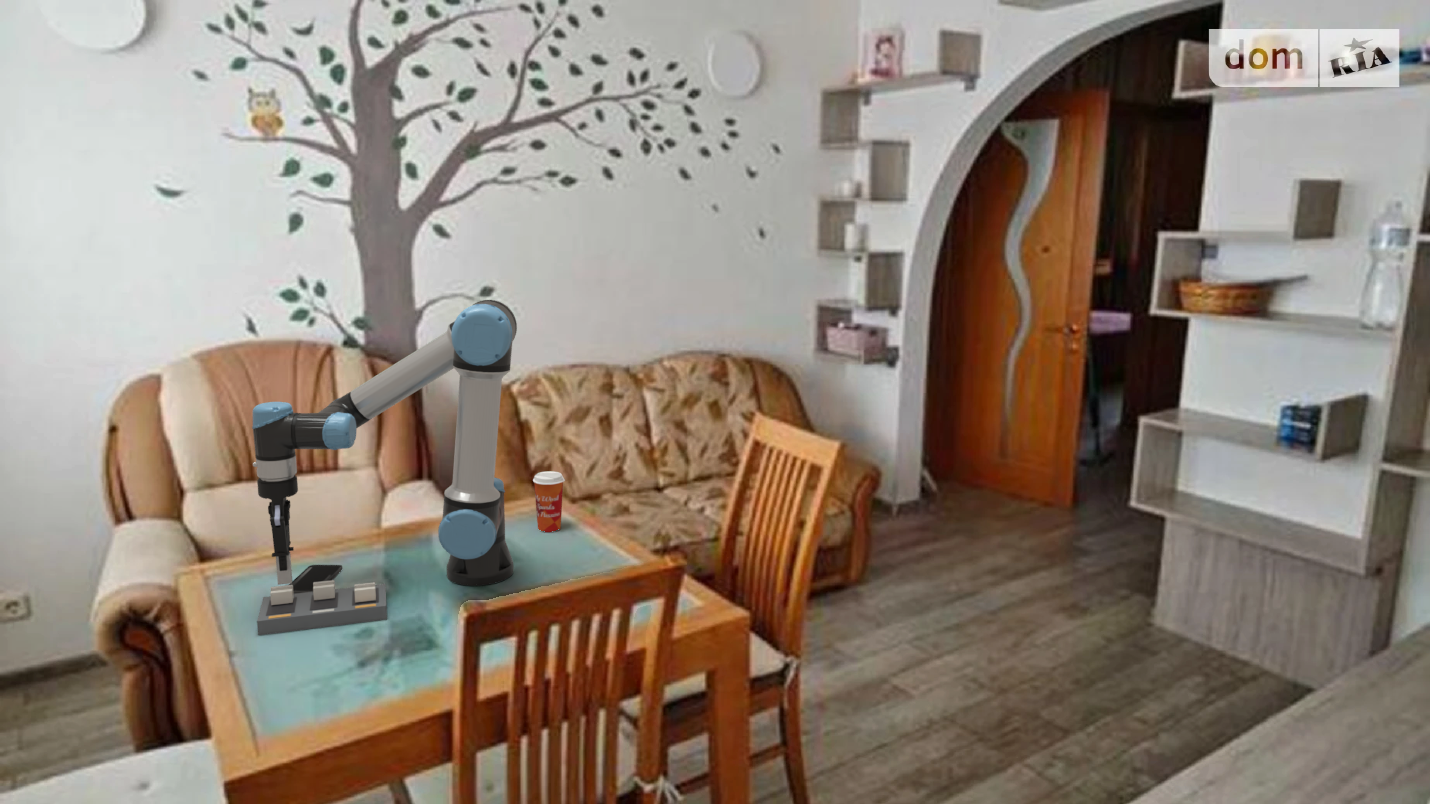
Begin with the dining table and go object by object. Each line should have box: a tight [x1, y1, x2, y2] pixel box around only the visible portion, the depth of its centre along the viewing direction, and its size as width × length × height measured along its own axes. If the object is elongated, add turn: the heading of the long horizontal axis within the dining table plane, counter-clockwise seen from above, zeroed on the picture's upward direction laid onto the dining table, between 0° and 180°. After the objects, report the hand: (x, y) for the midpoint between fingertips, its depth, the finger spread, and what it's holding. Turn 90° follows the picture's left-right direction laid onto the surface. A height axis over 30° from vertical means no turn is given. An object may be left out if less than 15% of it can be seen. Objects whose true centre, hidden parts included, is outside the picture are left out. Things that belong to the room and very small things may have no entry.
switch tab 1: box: [269, 584, 294, 605], centre depth 187 cm, size 4×3×3 cm
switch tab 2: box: [313, 579, 336, 600], centre depth 190 cm, size 4×3×3 cm
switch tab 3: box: [353, 581, 376, 603], centre depth 189 cm, size 4×3×3 cm
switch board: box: [256, 583, 388, 636], centre depth 189 cm, size 24×12×3 cm, turn 111°
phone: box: [288, 564, 343, 594], centre depth 206 cm, size 8×1×15 cm
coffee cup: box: [532, 470, 566, 533], centre depth 242 cm, size 8×8×15 cm
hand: (285, 582), depth 194 cm, fingers closed
